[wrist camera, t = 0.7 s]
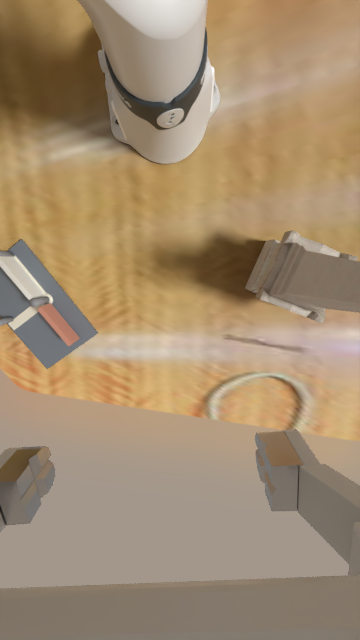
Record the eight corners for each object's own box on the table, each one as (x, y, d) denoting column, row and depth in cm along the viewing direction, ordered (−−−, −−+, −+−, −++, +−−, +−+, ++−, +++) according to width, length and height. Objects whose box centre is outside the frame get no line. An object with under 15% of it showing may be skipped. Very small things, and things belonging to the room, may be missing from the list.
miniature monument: (289, 307, 48) (446, 381, 19) (241, 289, 48) (329, 337, 18) (314, 258, 46) (538, 255, 17) (264, 237, 45) (408, 198, 16)
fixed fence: (-26, 280, 48) (-48, 282, 44) (10, 249, 47) (-9, 248, 42) (16, 327, 51) (-1, 334, 46) (52, 299, 49) (38, 304, 44)
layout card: (-29, 282, 48) (-31, 282, 48) (22, 239, 46) (20, 239, 46) (48, 368, 53) (47, 369, 52) (98, 332, 50) (97, 333, 50)
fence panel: (47, 306, 48) (37, 309, 45) (51, 303, 48) (40, 306, 45) (76, 340, 50) (68, 346, 47) (80, 338, 50) (72, 343, 47)
